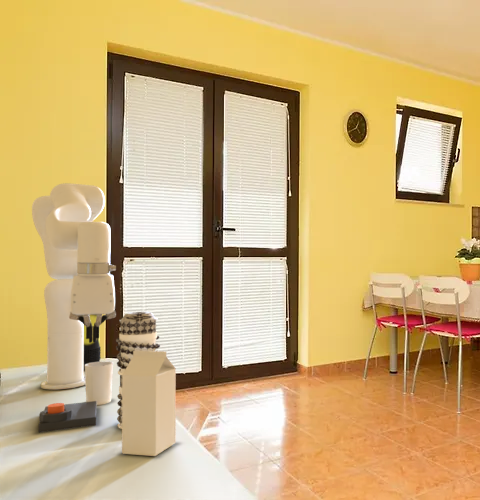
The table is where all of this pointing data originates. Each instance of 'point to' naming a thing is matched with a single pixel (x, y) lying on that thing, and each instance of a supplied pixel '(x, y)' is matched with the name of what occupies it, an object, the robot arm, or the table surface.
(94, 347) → the container
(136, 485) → the table surface
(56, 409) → the tare button
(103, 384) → the white cup
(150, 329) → the decorative candle
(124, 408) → the milk carton
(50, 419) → the scale
